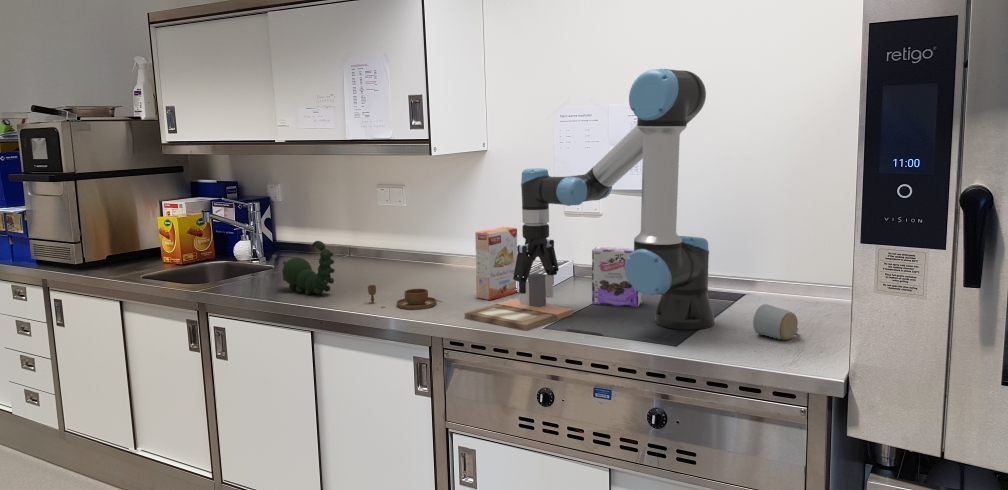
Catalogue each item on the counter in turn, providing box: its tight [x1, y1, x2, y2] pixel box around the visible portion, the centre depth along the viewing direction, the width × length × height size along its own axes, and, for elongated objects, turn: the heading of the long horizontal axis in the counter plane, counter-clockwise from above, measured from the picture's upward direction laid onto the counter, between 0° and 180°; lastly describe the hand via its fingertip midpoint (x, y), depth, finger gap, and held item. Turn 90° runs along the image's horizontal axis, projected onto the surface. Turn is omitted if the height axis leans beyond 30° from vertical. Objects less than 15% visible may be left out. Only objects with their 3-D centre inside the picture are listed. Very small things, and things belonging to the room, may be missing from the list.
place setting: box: [367, 284, 443, 311], centre depth 230 cm, size 18×20×6 cm
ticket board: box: [464, 303, 557, 331], centre depth 209 cm, size 22×13×2 cm, turn 49°
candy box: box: [591, 246, 643, 308], centre depth 222 cm, size 14×6×16 cm, turn 68°
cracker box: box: [475, 226, 518, 301], centre depth 236 cm, size 14×6×21 cm, turn 141°
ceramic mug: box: [752, 303, 799, 341], centre depth 186 cm, size 11×8×8 cm
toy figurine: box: [281, 240, 336, 296], centre depth 248 cm, size 9×19×25 cm
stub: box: [496, 272, 574, 321], centre depth 216 cm, size 22×7×10 cm, turn 49°
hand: (537, 300), depth 217 cm, fingers open, 10 cm apart
